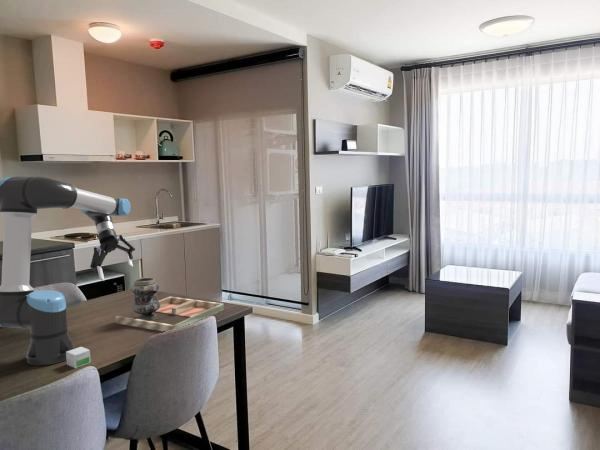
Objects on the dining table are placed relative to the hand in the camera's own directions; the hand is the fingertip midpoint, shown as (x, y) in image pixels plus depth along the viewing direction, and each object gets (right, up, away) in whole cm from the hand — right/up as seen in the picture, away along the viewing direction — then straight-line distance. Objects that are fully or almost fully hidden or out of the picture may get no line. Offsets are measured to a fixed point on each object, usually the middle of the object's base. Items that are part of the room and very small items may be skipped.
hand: (116, 272), depth 200 cm
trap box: (+21, -21, +9) cm, 31 cm away
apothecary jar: (+11, -21, +7) cm, 25 cm away
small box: (+3, -27, -41) cm, 49 cm away
